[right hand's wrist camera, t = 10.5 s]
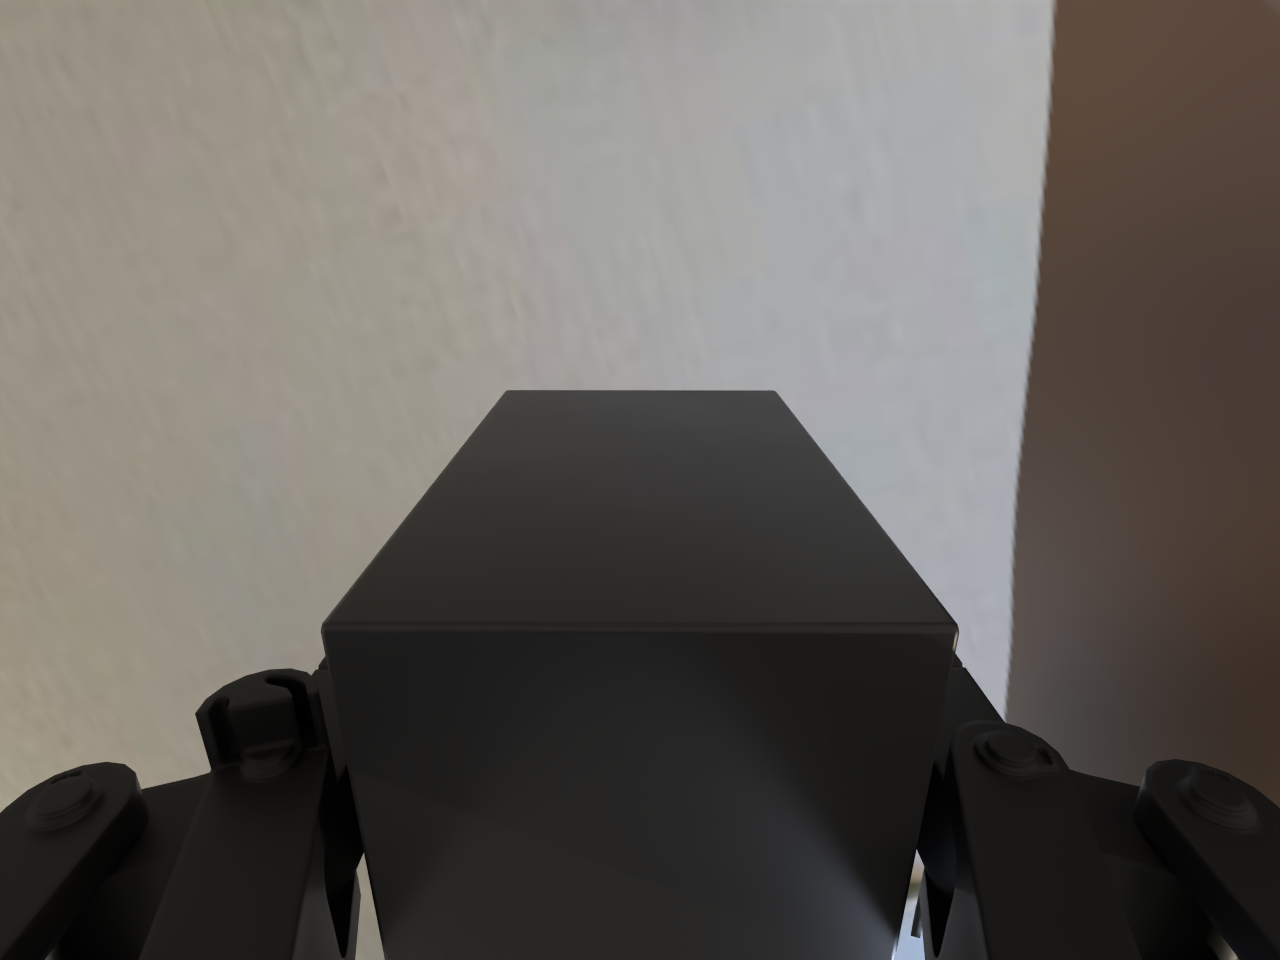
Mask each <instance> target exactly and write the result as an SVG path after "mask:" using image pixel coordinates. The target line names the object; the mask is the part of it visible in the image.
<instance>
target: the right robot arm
mask: <svg viewBox="0 0 1280 960" xmlns="http://www.w3.org/2000/svg"><path fill="white" fill-rule="evenodd" d="M195 715H196V718H197V722H198V725H199V729H200V732H201V735H202V739H203V742H204V746H205V749H206V752H207V756H208V759H209V763H210V766H211V771H210V773H207V774H204V775H200V776H197V777H193V778H189V779H184V780H180V781H176V782H171V783H167V784H163V785H158V786H154V787H150V788H145V789H141V787H140V785H139V782H138V779H137V776H136V773H135V772H134V771H133V770H132V769H130V768H129V767H128V766H126V765H125V764H119V763H111V762H102V763H96V764H89V765H83V766H80V767H77V768H74V769H71V770H68V771H65V772H62V773H60V774H57V775H54V776H53V777H51V778H49V779H47V780H45V781H44V782H42V783H40V784H38V785H36V786H34V787H33V788H31V789H29V790H27V791H26V792H25V793H24V794H22V795H21V796H20V797H19V798H17V799H16V800H15V801H14V802H12V803H11V804H10V805H9V806H7V807H6V808H5V809H4V810H3V811H2V812H1V813H0V960H355V954H356V943H357V932H358V921H359V910H360V899H361V894H360V887H359V881H358V876H357V871H356V869H357V867H358V864H359V862H360V860H361V857H362V855H363V853H364V849H363V844H362V839H361V834H360V829H359V824H358V819H357V813H356V808H355V803H354V798H353V793H352V788H351V783H350V778H349V773H348V767H347V762H346V757H345V752H344V747H343V742H342V737H341V732H340V727H339V721H338V716H337V711H336V706H335V701H334V696H333V691H332V686H331V681H330V675H329V670H328V665H327V660H326V656H325V657H324V659H323V660H322V662H321V663H320V665H319V669H318V670H315V672H314V673H313V674H312V676H311V675H310V674H308V673H307V672H304V671H299V670H295V669H272V670H266V671H262V672H258V673H254V674H251V675H247V676H244V677H242V678H240V679H238V680H236V681H234V682H231V683H229V684H227V685H225V686H223V687H222V688H221V689H219V690H218V691H216V692H215V693H214V694H212V695H211V696H210V697H208V698H207V699H206V700H205V701H204V703H203V704H202V705H201V707H200V708H199V709H198V711H197V712H196V713H195ZM917 851H918V853H919V855H920V858H921V860H922V862H923V864H924V871H923V876H922V881H921V886H920V890H919V895H918V900H917V905H916V909H915V914H914V919H913V925H912V931H911V936H914V937H918V938H920V935H921V930H923V941H924V952H925V960H1236V959H1237V957H1238V958H1239V960H1280V808H1279V807H1278V806H1277V805H1276V804H1274V803H1273V802H1272V801H1271V800H1269V799H1268V798H1267V797H1266V796H1264V795H1263V794H1262V793H1261V792H1259V791H1258V790H1257V789H1256V788H1254V787H1253V786H1251V785H1249V784H1247V783H1245V782H1243V781H1242V780H1240V779H1238V778H1236V777H1234V776H1232V775H1230V774H1229V773H1227V772H1224V771H1221V770H1219V769H1215V768H1213V767H1210V766H1207V765H1204V764H1201V763H1197V762H1190V761H1184V760H1178V759H1173V760H1165V761H1157V762H1156V763H1154V764H1153V765H1152V766H1150V767H1149V768H1148V769H1147V770H1146V772H1145V775H1144V778H1143V781H1142V784H1141V786H1140V787H1139V786H1134V785H1130V784H1125V783H1121V782H1117V781H1112V780H1108V779H1104V778H1099V777H1095V776H1091V775H1086V774H1083V773H1080V772H1076V771H1073V770H1070V769H1069V768H1068V766H1067V765H1066V763H1065V762H1064V760H1063V758H1062V757H1061V755H1060V754H1059V752H1057V751H1056V750H1055V749H1054V748H1052V747H1051V746H1050V745H1049V744H1048V743H1047V742H1045V741H1044V740H1043V739H1042V738H1040V737H1038V736H1036V735H1034V734H1032V733H1030V732H1028V731H1027V730H1025V729H1023V728H1021V727H1017V726H1014V725H1010V724H1007V723H1005V722H1004V721H1003V719H1002V718H1001V717H1000V715H999V714H998V712H997V711H996V710H995V708H994V707H993V705H992V704H991V703H990V701H989V700H988V698H987V697H986V696H985V694H984V693H983V691H982V690H981V689H980V687H979V686H978V684H977V683H976V682H975V680H974V679H973V678H972V676H971V675H970V673H969V672H968V671H967V669H966V668H963V667H962V662H961V661H960V659H959V658H958V657H957V655H956V654H955V656H954V661H953V666H952V671H951V676H950V681H949V686H948V691H947V696H946V702H945V707H944V712H943V717H942V722H941V727H940V732H939V737H938V742H937V747H936V752H935V757H934V762H933V767H932V773H931V778H930V783H929V788H928V793H927V798H926V803H925V808H924V813H923V818H922V823H921V828H920V833H919V838H918V844H917Z"/></svg>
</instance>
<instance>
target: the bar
mask: <svg viewBox="0 0 1280 960" xmlns="http://www.w3.org/2000/svg"><path fill="white" fill-rule="evenodd" d="M321 635H322V640H323V645H324V650H325V655H326V660H327V665H328V670H329V675H330V681H331V686H332V691H333V696H334V701H335V706H336V711H337V716H338V721H339V727H340V732H341V737H342V742H343V747H344V752H345V757H346V762H347V767H348V773H349V778H350V783H351V788H352V793H353V798H354V803H355V808H356V813H357V819H358V824H359V829H360V834H361V839H362V844H363V849H364V854H365V859H366V865H367V870H368V875H369V880H370V885H371V890H372V895H373V900H374V906H375V911H376V916H377V921H378V926H379V931H380V936H381V941H382V946H383V952H384V957H385V960H895V955H896V950H897V945H898V940H899V935H900V930H901V925H902V920H903V914H904V909H905V904H906V899H907V894H908V889H909V884H910V879H911V874H912V869H913V864H914V859H915V854H916V849H917V844H918V838H919V833H920V828H921V823H922V818H923V813H924V808H925V803H926V798H927V793H928V788H929V783H930V778H931V773H932V767H933V762H934V757H935V752H936V747H937V742H938V737H939V732H940V727H941V722H942V717H943V712H944V707H945V702H946V696H947V691H948V686H949V681H950V676H951V671H952V666H953V661H954V656H955V651H956V646H957V641H958V636H959V629H958V625H957V623H956V622H955V621H954V619H953V618H952V617H951V616H950V614H949V613H948V612H947V611H946V609H945V608H944V607H943V605H942V604H941V603H940V602H939V600H938V599H937V598H936V596H935V595H934V594H933V593H932V591H931V590H930V589H929V587H928V586H927V585H926V584H925V582H924V581H923V580H922V578H921V577H920V576H919V575H918V573H917V572H916V571H915V569H914V568H913V567H912V566H911V564H910V563H909V562H908V560H907V559H906V558H905V557H904V555H903V554H902V553H901V551H900V550H899V549H898V548H897V546H896V545H895V544H894V542H893V541H892V540H891V539H890V537H889V536H888V535H887V533H886V532H885V531H884V530H883V528H882V527H881V526H880V525H879V523H878V522H877V521H876V519H875V518H874V517H873V516H872V514H871V513H870V512H869V510H868V509H867V508H866V507H865V505H864V504H863V503H862V501H861V500H860V499H859V498H858V496H857V495H856V494H855V492H854V491H853V490H852V489H851V487H850V486H849V485H848V483H847V482H846V481H845V480H844V478H843V477H842V476H841V474H840V473H839V472H838V471H837V469H836V468H835V467H834V465H833V464H832V463H831V462H830V460H829V459H828V458H827V456H826V455H825V454H824V453H823V451H822V450H821V449H820V447H819V446H818V445H817V444H816V442H815V441H814V440H813V439H812V437H811V436H810V435H809V433H808V432H807V431H806V430H805V428H804V427H803V426H802V424H801V423H800V422H799V421H798V419H797V418H796V417H795V415H794V414H793V413H792V412H791V410H790V409H789V408H788V406H787V405H786V404H785V403H784V401H783V400H782V399H781V397H780V396H779V395H778V394H777V392H775V391H641V390H508V391H506V392H505V393H504V394H503V395H502V397H501V398H500V399H499V400H498V402H497V403H496V404H495V405H494V407H493V408H492V409H491V411H490V412H489V413H488V414H487V416H486V417H485V418H484V419H483V421H482V422H481V423H480V424H479V426H478V427H477V428H476V430H475V431H474V432H473V433H472V435H471V436H470V437H469V438H468V440H467V441H466V442H465V444H464V445H463V446H462V447H461V449H460V450H459V451H458V452H457V454H456V455H455V456H454V457H453V459H452V460H451V461H450V463H449V464H448V465H447V466H446V468H445V469H444V470H443V471H442V473H441V474H440V475H439V476H438V478H437V479H436V480H435V482H434V483H433V484H432V485H431V487H430V488H429V489H428V490H427V492H426V493H425V494H424V496H423V497H422V498H421V499H420V501H419V502H418V503H417V504H416V506H415V507H414V508H413V509H412V511H411V512H410V513H409V515H408V516H407V517H406V518H405V520H404V521H403V522H402V523H401V525H400V526H399V527H398V528H397V530H396V531H395V532H394V534H393V535H392V536H391V537H390V539H389V540H388V541H387V542H386V544H385V545H384V546H383V547H382V549H381V550H380V551H379V553H378V554H377V555H376V556H375V558H374V559H373V560H372V561H371V563H370V564H369V565H368V567H367V568H366V569H365V570H364V572H363V573H362V574H361V575H360V577H359V578H358V579H357V580H356V582H355V583H354V584H353V586H352V587H351V588H350V589H349V591H348V592H347V593H346V594H345V596H344V597H343V598H342V599H341V601H340V602H339V603H338V605H337V606H336V607H335V608H334V610H333V611H332V612H331V613H330V615H329V616H328V617H327V619H326V620H325V621H324V622H323V624H322V628H321Z"/></svg>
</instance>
